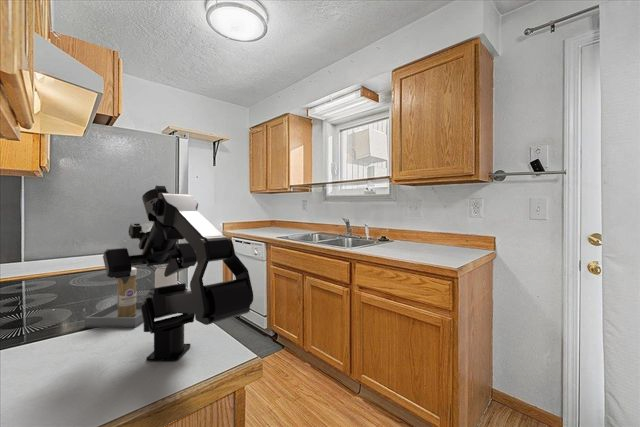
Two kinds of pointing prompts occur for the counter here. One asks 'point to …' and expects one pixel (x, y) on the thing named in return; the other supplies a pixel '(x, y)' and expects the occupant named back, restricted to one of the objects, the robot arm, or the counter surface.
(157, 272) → the can
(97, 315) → the tray
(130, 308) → the sprinkles bottle
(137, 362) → the counter surface
